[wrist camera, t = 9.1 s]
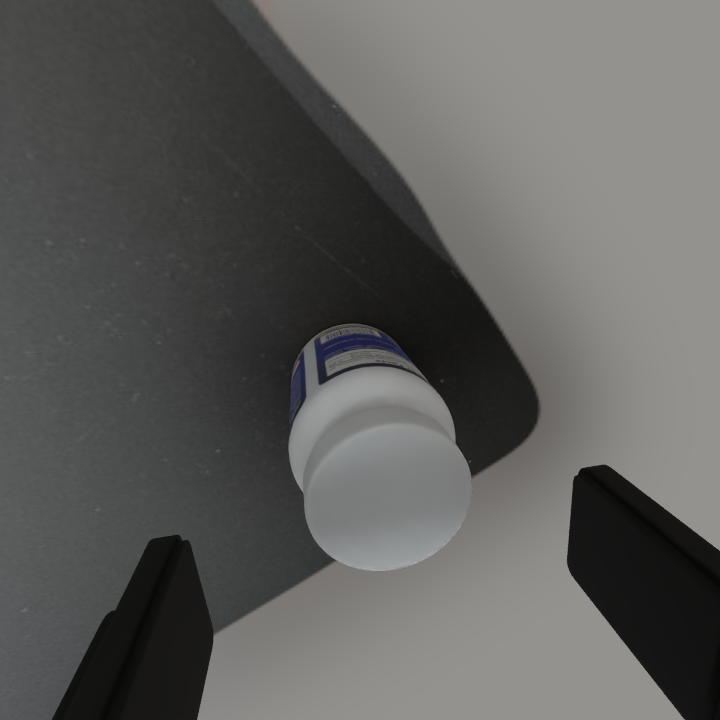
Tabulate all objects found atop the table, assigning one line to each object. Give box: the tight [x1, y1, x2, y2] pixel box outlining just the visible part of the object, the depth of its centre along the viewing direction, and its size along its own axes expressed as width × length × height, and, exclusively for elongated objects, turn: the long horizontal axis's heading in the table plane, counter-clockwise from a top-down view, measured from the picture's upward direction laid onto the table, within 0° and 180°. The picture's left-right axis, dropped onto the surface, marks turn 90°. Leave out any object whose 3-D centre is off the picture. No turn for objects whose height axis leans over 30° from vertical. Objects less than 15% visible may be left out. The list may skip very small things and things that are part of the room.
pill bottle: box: [288, 324, 472, 571], centre depth 16 cm, size 6×6×10 cm
